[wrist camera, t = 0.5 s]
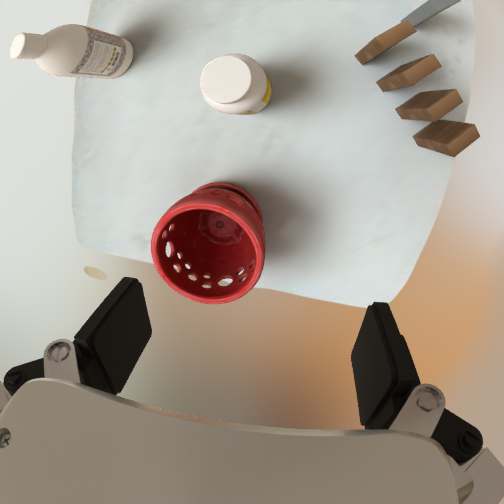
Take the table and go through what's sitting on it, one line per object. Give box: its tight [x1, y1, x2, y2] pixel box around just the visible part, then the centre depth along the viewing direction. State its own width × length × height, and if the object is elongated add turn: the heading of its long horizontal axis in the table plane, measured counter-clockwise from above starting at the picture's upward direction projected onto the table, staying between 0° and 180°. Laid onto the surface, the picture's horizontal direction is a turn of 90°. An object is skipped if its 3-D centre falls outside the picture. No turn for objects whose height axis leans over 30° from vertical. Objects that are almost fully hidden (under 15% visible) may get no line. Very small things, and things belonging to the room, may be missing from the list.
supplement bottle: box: [200, 54, 272, 115], centre depth 27 cm, size 7×7×13 cm
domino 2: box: [376, 54, 441, 92], centre depth 24 cm, size 2×5×10 cm, turn 131°
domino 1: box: [355, 20, 417, 65], centre depth 23 cm, size 2×5×10 cm, turn 131°
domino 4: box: [413, 120, 480, 157], centre depth 27 cm, size 2×5×10 cm, turn 131°
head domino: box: [401, 0, 461, 27], centre depth 19 cm, size 2×5×10 cm, turn 131°
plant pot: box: [151, 183, 265, 304], centre depth 36 cm, size 13×13×12 cm
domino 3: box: [395, 89, 463, 122], centre depth 25 cm, size 2×5×10 cm, turn 131°
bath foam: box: [10, 24, 133, 79], centre depth 22 cm, size 7×7×20 cm
